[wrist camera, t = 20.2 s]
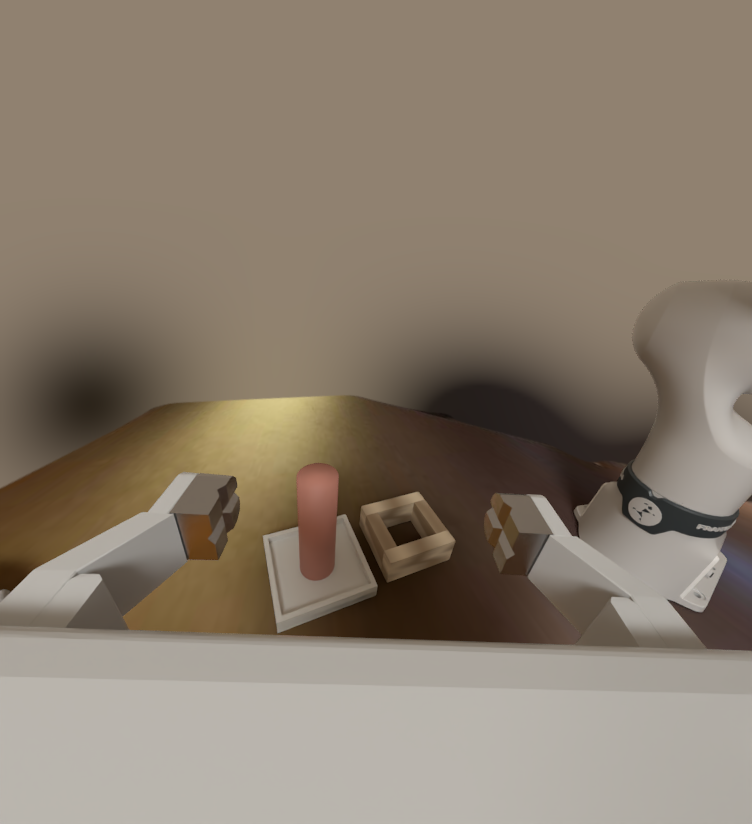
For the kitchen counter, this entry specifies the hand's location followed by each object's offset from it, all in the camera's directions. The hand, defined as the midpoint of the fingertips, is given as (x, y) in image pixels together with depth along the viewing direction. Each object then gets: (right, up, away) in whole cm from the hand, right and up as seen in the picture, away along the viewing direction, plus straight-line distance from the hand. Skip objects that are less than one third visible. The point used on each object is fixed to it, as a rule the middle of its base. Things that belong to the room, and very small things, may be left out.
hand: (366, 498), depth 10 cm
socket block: (+4, -17, +37) cm, 41 cm away
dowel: (-7, -17, +31) cm, 37 cm away
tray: (-8, -18, +32) cm, 37 cm away
